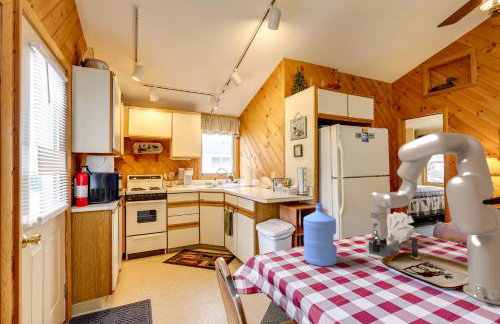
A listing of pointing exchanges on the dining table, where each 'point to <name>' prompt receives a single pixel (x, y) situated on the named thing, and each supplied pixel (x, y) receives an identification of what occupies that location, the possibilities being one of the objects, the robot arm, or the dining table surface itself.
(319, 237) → the water jug
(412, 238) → the stand
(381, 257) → the board
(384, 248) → the c link
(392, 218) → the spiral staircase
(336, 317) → the dining table surface
